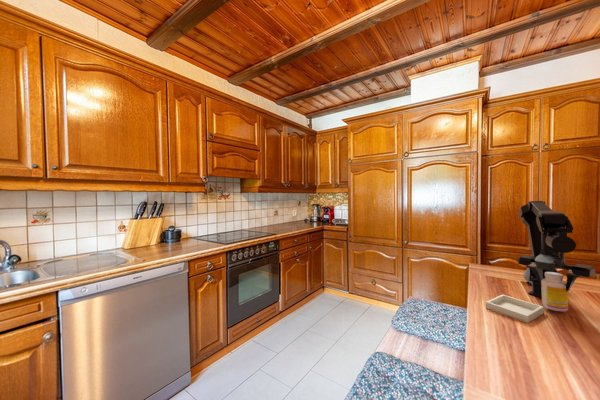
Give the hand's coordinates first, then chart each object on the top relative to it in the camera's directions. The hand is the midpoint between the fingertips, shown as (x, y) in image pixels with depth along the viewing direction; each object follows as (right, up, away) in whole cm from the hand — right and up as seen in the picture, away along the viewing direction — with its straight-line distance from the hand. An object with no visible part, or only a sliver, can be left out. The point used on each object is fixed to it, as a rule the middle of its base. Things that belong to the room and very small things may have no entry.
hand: (554, 287), depth 87 cm
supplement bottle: (0, -8, 0) cm, 8 cm away
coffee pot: (+23, -7, +27) cm, 36 cm away
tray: (-13, -10, +2) cm, 16 cm away
